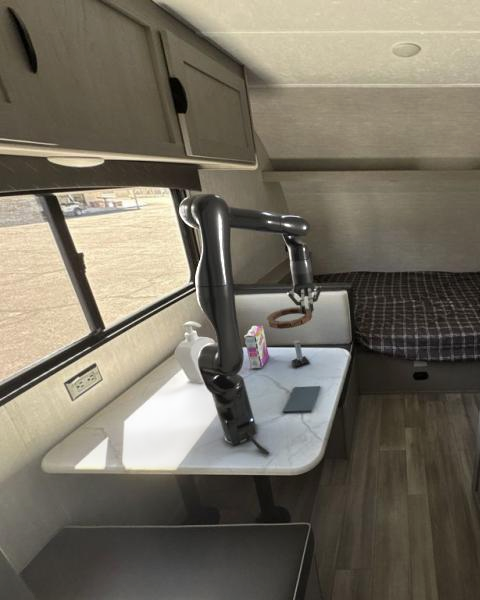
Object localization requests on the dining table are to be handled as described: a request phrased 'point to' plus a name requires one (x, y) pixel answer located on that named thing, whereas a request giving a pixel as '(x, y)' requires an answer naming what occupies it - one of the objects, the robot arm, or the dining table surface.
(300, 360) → the stand
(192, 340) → the soap bottle
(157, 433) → the dining table surface
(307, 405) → the mat
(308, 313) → the ring
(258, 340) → the candy bar box
